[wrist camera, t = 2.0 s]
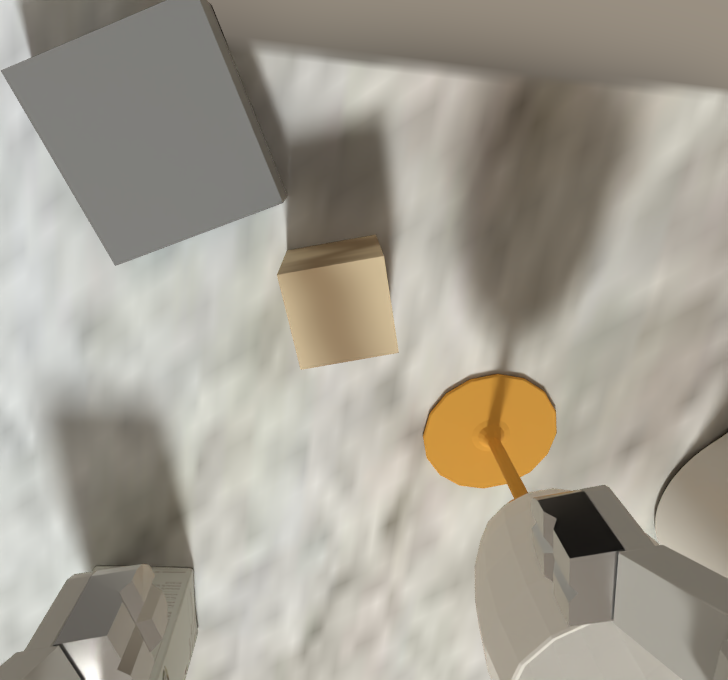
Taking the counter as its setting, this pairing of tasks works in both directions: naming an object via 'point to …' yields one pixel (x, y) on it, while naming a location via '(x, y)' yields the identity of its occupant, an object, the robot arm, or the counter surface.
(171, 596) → the supplement box
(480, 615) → the cup
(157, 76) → the plate
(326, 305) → the maple cube
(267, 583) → the counter surface
